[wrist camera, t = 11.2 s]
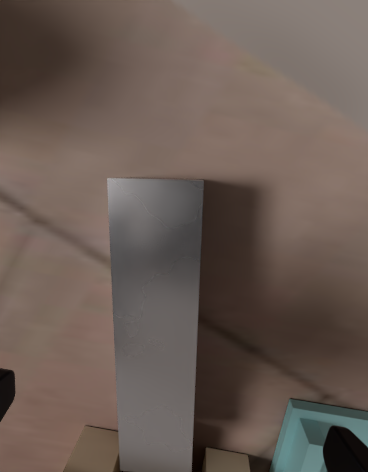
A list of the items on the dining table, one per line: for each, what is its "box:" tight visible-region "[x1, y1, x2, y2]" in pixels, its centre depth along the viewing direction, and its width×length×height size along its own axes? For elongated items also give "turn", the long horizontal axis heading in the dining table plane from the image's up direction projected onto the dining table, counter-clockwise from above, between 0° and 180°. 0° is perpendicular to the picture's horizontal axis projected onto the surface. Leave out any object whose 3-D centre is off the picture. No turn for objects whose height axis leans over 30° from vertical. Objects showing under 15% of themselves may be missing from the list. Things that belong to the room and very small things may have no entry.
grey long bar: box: [107, 177, 204, 472], centre depth 11 cm, size 12×3×3 cm, turn 179°
